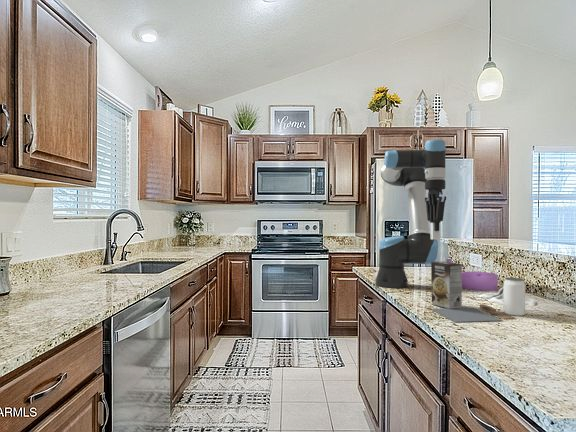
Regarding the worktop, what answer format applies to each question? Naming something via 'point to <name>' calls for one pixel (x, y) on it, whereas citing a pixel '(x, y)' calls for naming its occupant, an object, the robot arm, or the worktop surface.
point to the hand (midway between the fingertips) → (434, 239)
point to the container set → (479, 280)
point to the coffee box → (446, 284)
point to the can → (514, 297)
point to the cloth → (499, 298)
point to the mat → (465, 315)
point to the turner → (496, 312)
